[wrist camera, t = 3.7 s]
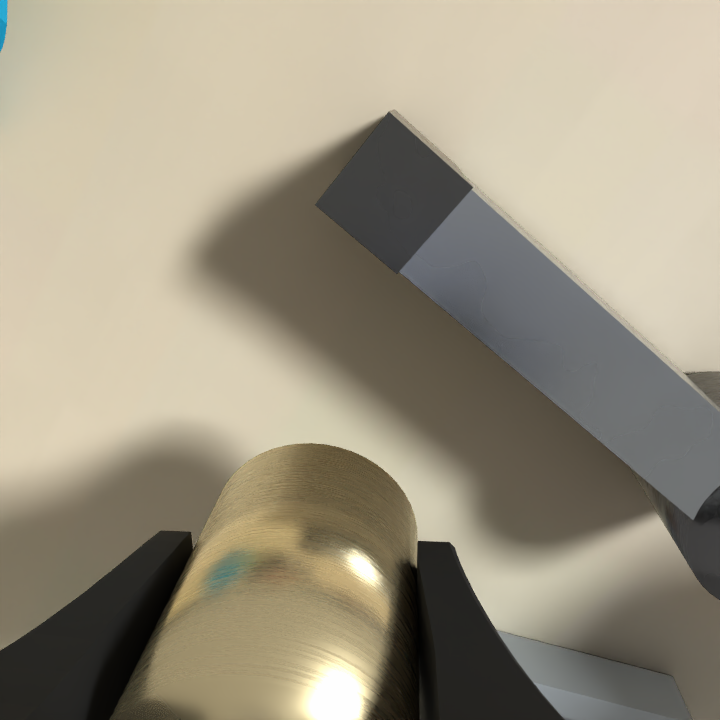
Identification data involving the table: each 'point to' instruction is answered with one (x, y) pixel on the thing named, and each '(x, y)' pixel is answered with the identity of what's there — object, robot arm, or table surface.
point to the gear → (3, 21)
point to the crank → (541, 325)
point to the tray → (596, 684)
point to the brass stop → (291, 600)
